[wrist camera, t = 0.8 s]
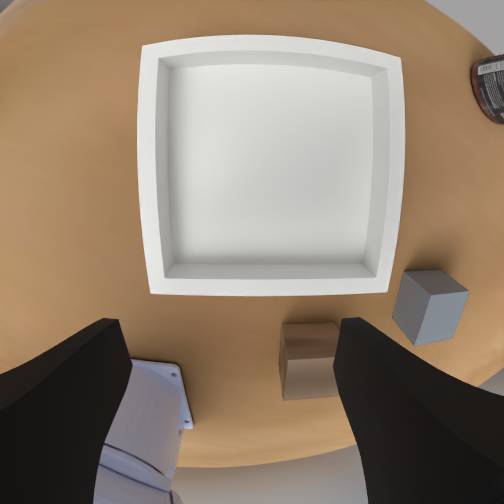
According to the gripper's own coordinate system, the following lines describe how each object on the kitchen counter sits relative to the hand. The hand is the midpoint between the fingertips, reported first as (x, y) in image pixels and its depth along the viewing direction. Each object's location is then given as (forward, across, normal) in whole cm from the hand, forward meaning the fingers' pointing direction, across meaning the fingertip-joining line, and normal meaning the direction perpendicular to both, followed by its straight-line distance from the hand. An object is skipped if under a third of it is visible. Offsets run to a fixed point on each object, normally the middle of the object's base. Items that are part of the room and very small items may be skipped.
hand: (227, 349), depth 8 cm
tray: (+10, -2, -5) cm, 11 cm away
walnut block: (+10, -5, +8) cm, 13 cm away
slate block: (+10, -14, +4) cm, 17 cm away
